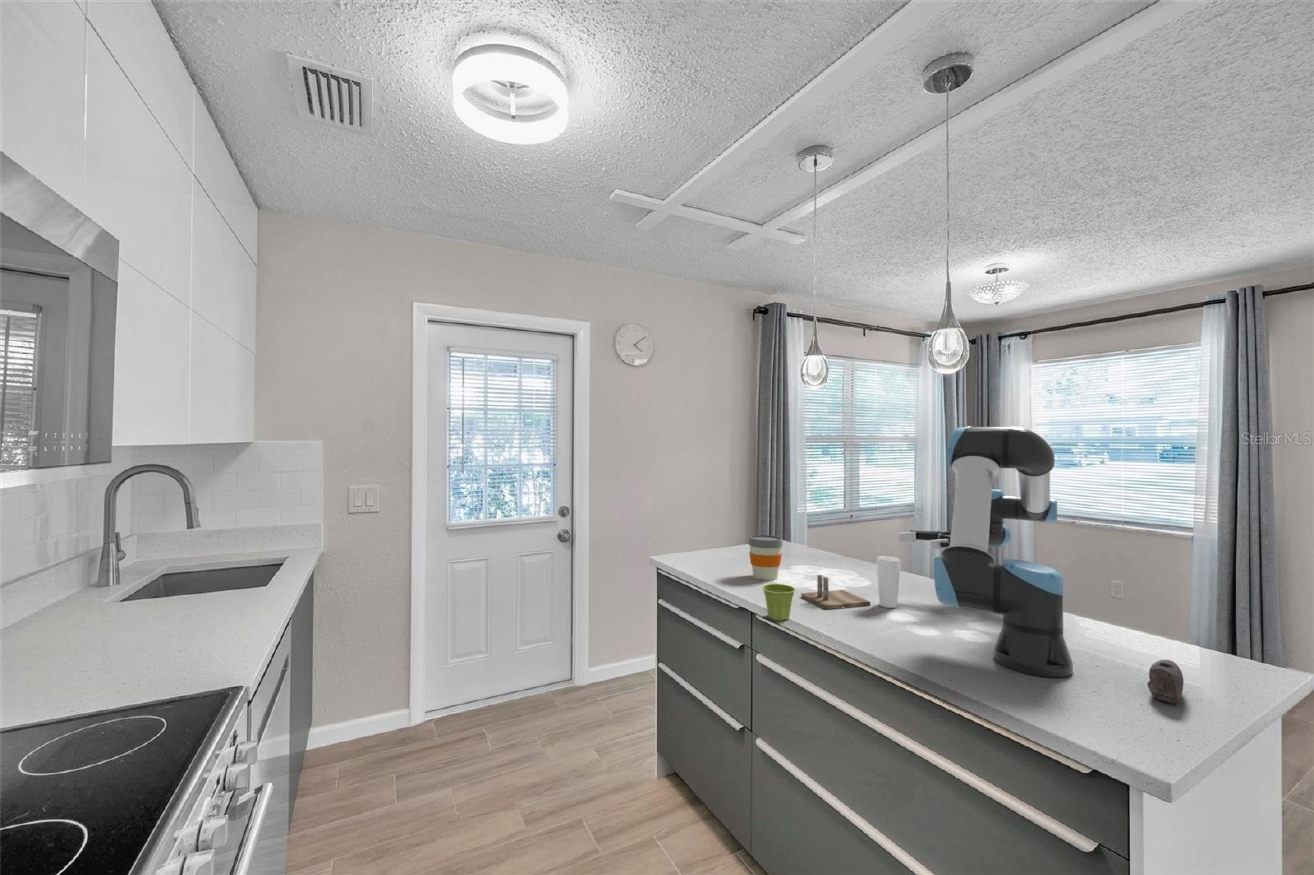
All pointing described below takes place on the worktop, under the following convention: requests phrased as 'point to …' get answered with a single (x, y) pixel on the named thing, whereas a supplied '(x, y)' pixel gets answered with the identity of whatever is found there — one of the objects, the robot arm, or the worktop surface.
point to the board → (833, 596)
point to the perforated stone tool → (1166, 681)
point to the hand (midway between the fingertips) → (914, 540)
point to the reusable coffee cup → (765, 556)
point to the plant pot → (778, 600)
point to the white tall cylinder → (888, 580)
